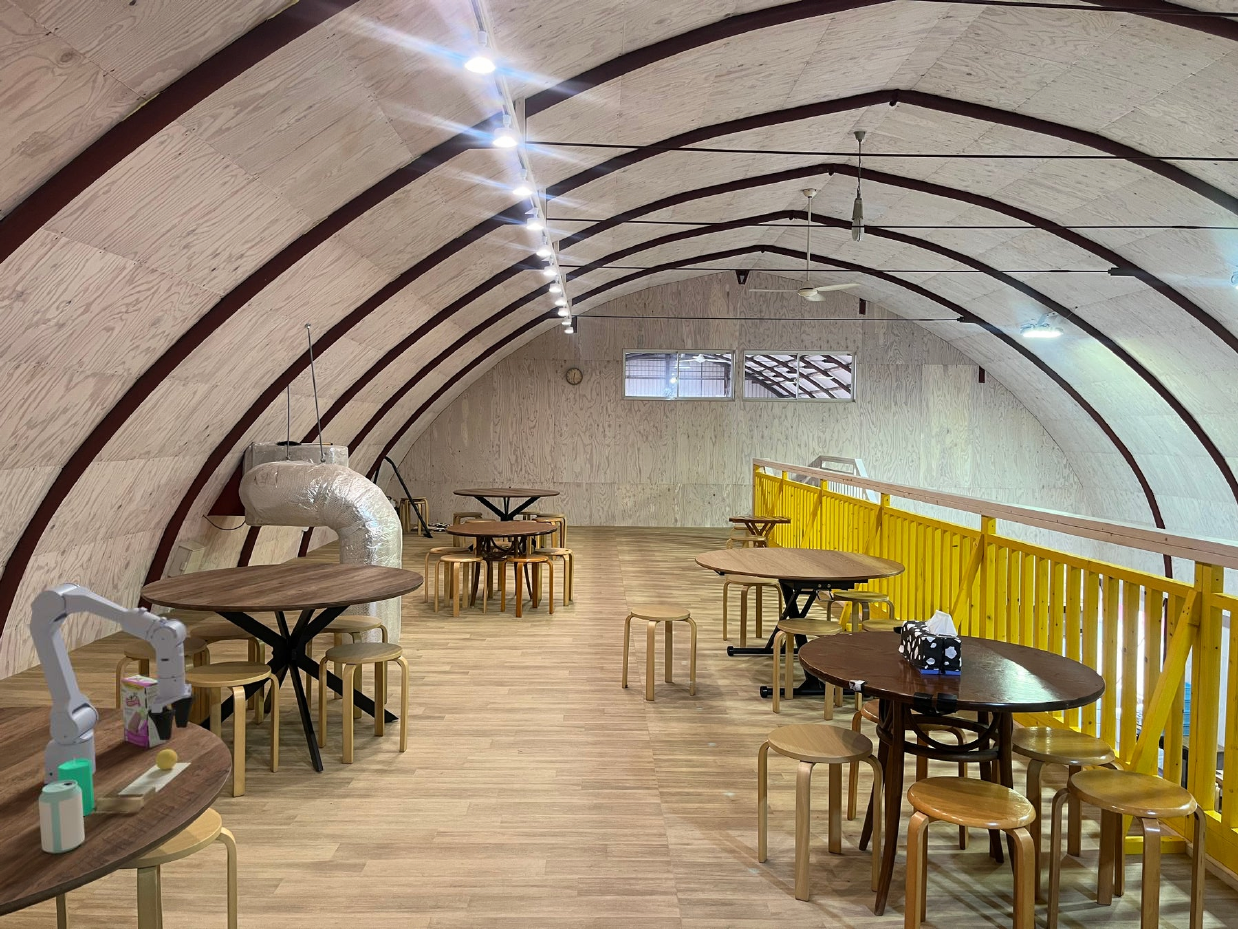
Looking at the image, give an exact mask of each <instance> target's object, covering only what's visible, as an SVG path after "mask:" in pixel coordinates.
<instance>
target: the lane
mask: <svg viewBox="0 0 1238 929" xmlns="http://www.w3.org/2000/svg"><path fill="white" fill-rule="evenodd" d="M191 764H192V762H176V764H175V765H174V766H173V767H172V768H170V769H167V770H163V769H160V768H159V767H158V766H157V765H156V764H154V765H153V766H152V767H150V769H148V770H147V771H146V772H144V773H143V774H141V776H139V777H138V778H136V779H135V780H134V781H132V782H131V783H130V784H129V785H127V786H126V787H125V788H124V789H122V790H121V791H120V792H118V793H116V796H117V795H118V796H119V795H122V796H123V795H126V796H127V795H144V794H145V793H146V792H147V791H149V790H150V789H151V788H152V787H155V788H156V793H158V792H159V791H160V790H161V789H162V788H163V787H165V786H166V785H167V784H168V783H169V782H170V781H172V780H173V779H174V778H175V777H176V776H178V775H179V774H180V773H181V772H183V771H184V770H185V769H186V768H187V767H189V765H191Z"/></svg>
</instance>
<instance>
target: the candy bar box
mask: <svg viewBox="0 0 1238 929" xmlns="http://www.w3.org/2000/svg"><path fill="white" fill-rule="evenodd" d="M120 691H121V704H122V719H123V720H122V721H123V734H124V735H123V736H124V741H126V742H130V743H131V744H135V745H139V746H141V747H145V748H148V749H151V748H153V747H156V746H159V745H163V744H165V743H167V741H168V740H160V738H159V735H158V732H157V729H156V727H155V724H154V723H153V721H152V720H151V718H150V717H149V716H148V711H149V710H150V709H151V704H153V703H154V701H155V699H156V697H157V695H158V686H157V678H156V679H155V678H151V677H147V676H144V675H140V674H135V675H132V676H128V677H124V678H121V679H120Z"/></svg>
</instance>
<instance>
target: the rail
mask: <svg viewBox="0 0 1238 929" xmlns="http://www.w3.org/2000/svg"><path fill="white" fill-rule="evenodd" d="M156 796H157V792H156V788H155V787H152V788H151V789H150V790H149V791H147V792H146V793H145V794H141V796H138V797H137V796H134V797H132V796H131V797H130V796H129V797H124V796H123V797H117V789H116V787H112V788H110V789H109V790H108V791H106V792H105V793H104V794H102V795H101V796H100V797H99V798H97V799H96V802H95V803H96V804H95V805H96V812H97V811H122V810H132V811H131V812H142V811H143V810H144V809H145V808H144V807H143V806H145V805H146V804H147V803H148V802H149V801H150V800H152V799H153V798H154V797H156ZM143 808H144V809H143ZM142 809H143V810H142ZM141 810H142V811H141Z"/></svg>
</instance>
